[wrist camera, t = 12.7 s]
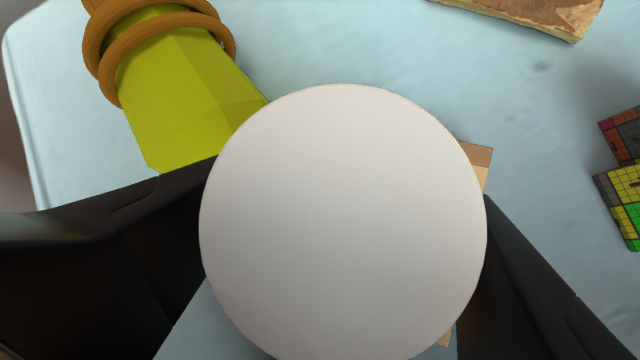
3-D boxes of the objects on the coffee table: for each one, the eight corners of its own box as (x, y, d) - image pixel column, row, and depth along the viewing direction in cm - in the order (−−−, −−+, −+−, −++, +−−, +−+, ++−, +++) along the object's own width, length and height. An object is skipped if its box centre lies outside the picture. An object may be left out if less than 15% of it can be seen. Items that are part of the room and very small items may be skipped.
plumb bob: (352, 186, 22) (177, -72, 24) (313, 213, 13) (44, -193, 15) (264, 245, 25) (114, 10, 27) (185, 299, 16) (-28, -53, 18)
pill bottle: (423, 163, 15) (545, 29, 4) (420, 286, 15) (558, 480, 4) (305, 159, 16) (176, 46, 6) (297, 273, 16) (132, 396, 5)
